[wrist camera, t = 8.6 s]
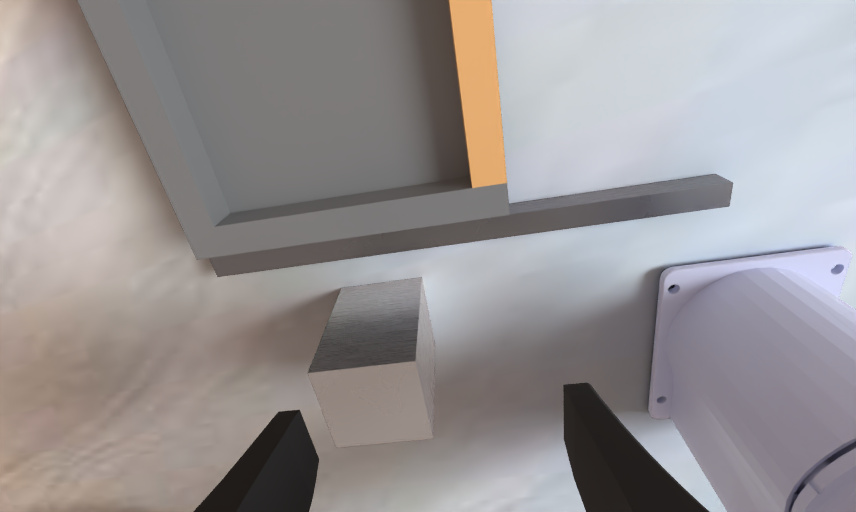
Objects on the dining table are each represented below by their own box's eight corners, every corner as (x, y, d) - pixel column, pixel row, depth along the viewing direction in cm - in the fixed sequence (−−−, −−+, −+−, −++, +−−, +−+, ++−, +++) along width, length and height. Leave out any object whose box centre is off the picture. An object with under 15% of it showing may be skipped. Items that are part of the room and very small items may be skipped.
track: (712, 196, 18) (729, 206, 17) (229, 264, 20) (217, 276, 19) (792, -369, 11) (828, -411, 10) (42, -175, 13) (8, -193, 12)
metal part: (435, 342, 22) (433, 438, 17) (360, 351, 23) (336, 447, 17) (421, 276, 21) (415, 361, 15) (341, 287, 21) (307, 373, 16)
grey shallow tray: (498, 186, 18) (509, 214, 15) (234, 225, 19) (196, 259, 16) (462, -192, 13) (469, -260, 10) (101, -106, 14) (10, -145, 11)
